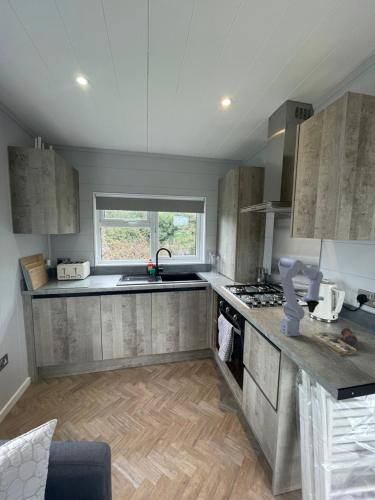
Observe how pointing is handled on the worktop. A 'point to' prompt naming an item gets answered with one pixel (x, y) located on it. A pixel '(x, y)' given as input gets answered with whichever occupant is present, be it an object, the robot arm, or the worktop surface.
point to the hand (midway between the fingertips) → (311, 312)
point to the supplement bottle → (349, 337)
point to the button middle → (334, 339)
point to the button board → (333, 344)
